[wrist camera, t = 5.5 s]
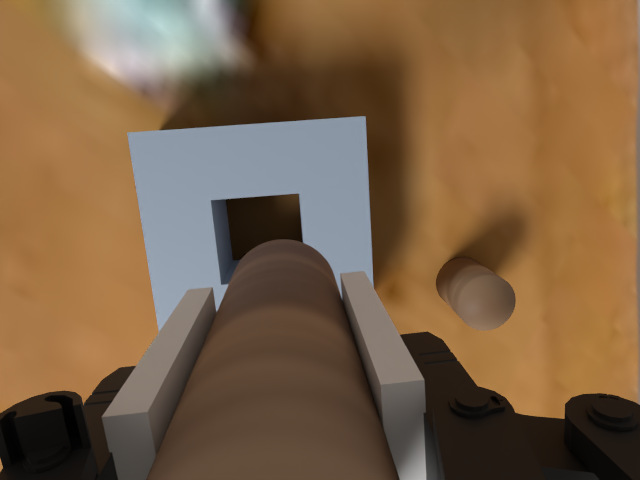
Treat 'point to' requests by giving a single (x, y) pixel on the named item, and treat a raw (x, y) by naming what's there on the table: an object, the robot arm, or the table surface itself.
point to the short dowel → (475, 293)
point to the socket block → (247, 181)
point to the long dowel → (277, 383)
